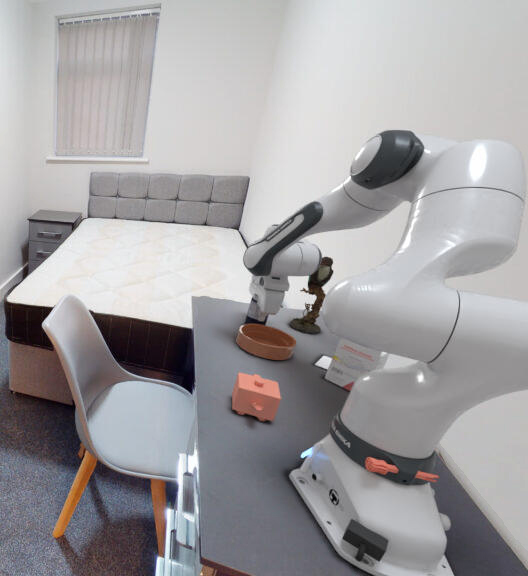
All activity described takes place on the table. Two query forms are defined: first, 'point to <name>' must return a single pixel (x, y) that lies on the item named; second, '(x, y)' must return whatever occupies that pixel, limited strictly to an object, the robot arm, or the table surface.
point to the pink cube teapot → (256, 396)
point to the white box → (324, 362)
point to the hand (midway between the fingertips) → (257, 315)
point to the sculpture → (315, 288)
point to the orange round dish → (266, 341)
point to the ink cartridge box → (353, 363)
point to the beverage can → (254, 313)
